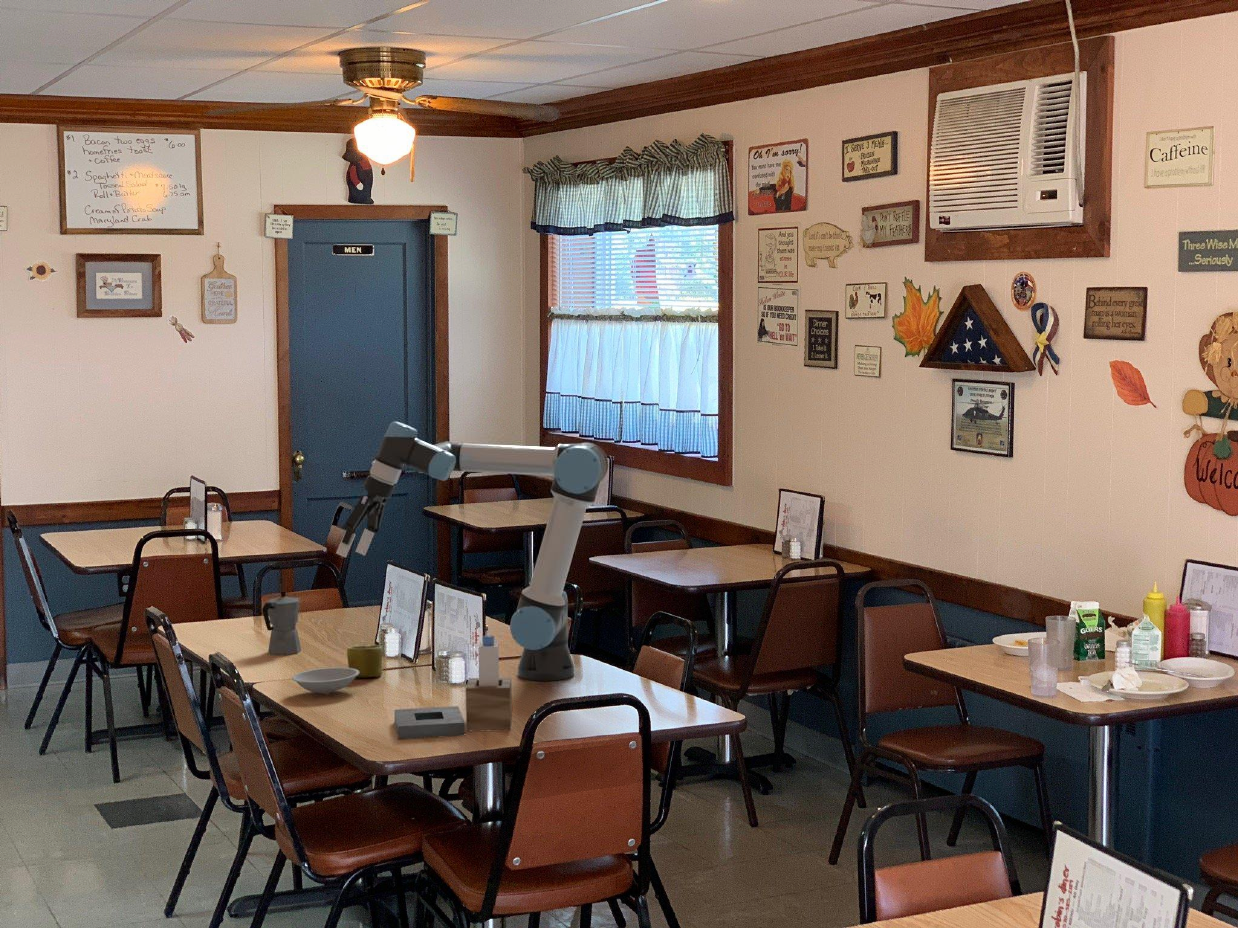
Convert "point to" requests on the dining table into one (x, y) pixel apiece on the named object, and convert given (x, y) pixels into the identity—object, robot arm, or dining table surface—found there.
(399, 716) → the lower socket
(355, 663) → the mug
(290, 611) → the coffeepot
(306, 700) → the dining table surface
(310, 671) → the dish
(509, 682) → the upper socket
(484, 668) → the plug
